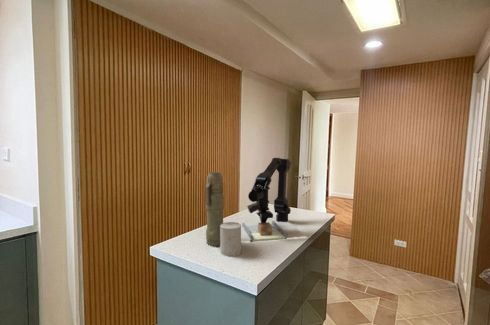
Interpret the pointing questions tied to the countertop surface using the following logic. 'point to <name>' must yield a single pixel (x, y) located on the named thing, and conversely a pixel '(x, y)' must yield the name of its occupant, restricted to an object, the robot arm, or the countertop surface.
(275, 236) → the board
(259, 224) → the walnut block
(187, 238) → the countertop surface
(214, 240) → the thermos
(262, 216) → the robot arm
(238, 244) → the grey concrete cylinder
